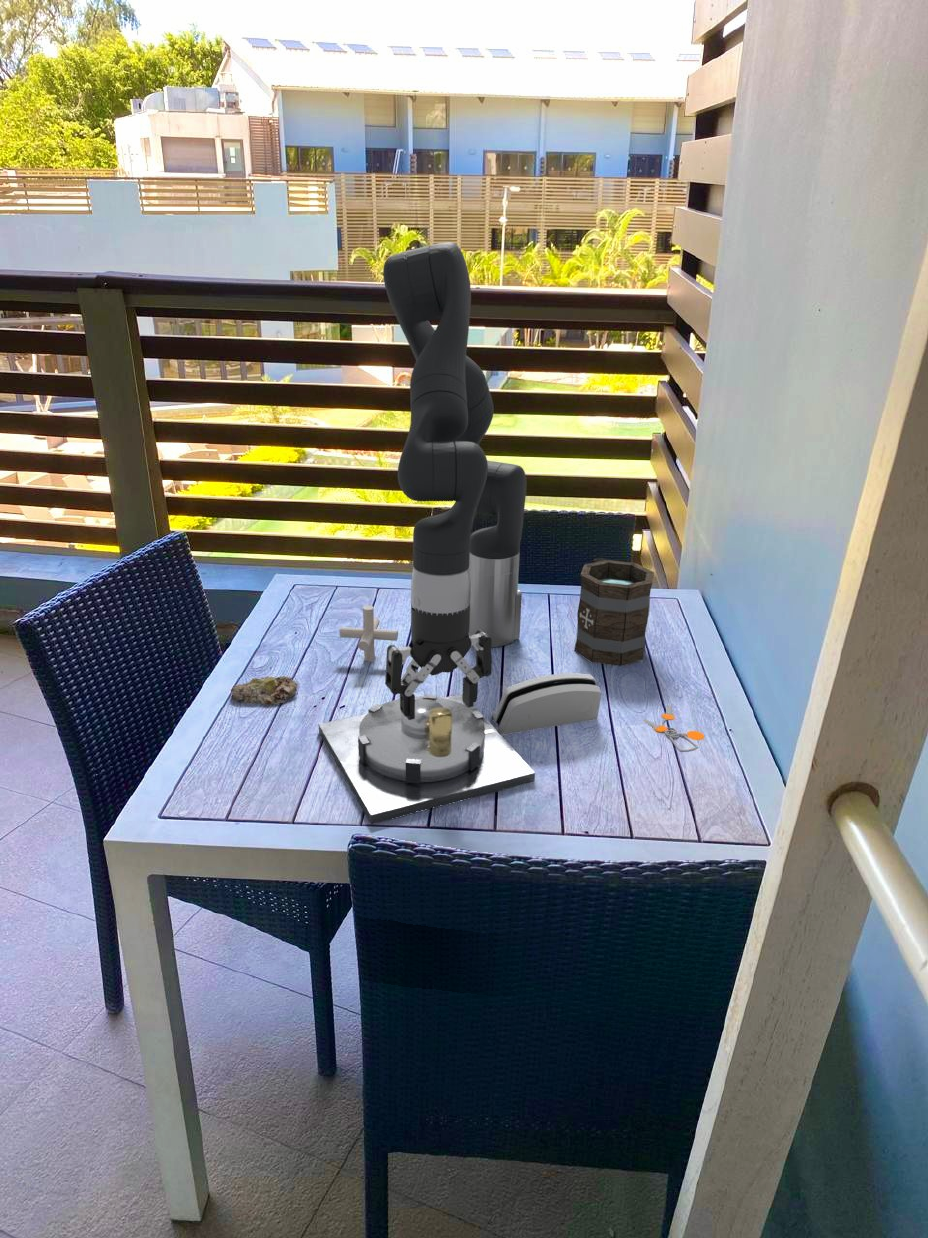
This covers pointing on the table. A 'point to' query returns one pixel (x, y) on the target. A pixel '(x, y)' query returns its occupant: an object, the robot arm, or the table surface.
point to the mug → (613, 612)
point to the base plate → (400, 798)
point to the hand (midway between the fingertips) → (438, 710)
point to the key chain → (661, 728)
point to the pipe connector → (368, 633)
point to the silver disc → (422, 740)
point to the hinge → (548, 703)
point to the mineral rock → (265, 690)
